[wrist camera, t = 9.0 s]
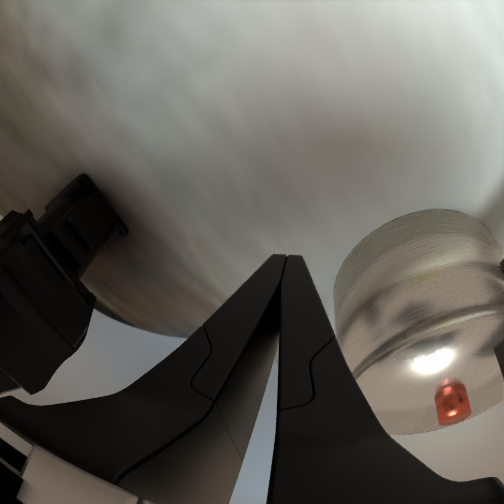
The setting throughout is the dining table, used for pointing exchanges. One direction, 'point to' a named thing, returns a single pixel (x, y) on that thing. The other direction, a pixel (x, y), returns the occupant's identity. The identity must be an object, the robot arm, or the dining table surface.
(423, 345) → the pressure cooker lid
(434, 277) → the pressure cooker pot
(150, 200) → the dining table surface
